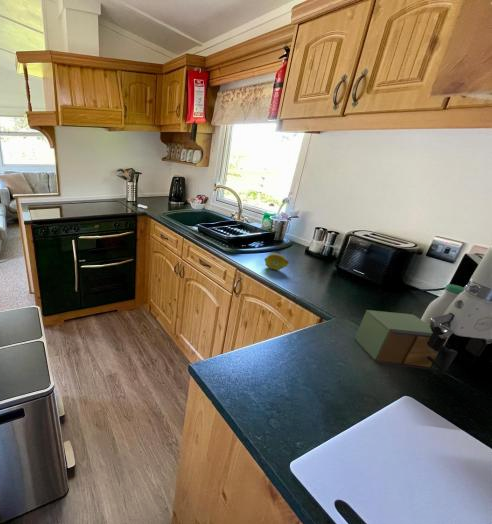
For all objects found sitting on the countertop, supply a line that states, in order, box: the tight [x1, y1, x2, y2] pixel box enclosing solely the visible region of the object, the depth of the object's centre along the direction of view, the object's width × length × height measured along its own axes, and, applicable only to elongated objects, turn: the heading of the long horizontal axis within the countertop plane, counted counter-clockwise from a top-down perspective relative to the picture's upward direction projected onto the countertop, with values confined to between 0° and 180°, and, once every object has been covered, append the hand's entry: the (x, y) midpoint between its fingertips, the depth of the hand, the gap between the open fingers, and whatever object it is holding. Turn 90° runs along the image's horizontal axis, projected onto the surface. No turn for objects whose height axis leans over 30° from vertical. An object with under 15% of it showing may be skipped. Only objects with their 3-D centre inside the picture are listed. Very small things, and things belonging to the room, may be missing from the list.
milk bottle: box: [420, 283, 464, 346], centre depth 92 cm, size 8×8×20 cm
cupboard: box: [354, 309, 447, 370], centre depth 86 cm, size 12×14×11 cm
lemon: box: [264, 253, 290, 271], centre depth 143 cm, size 11×8×8 cm
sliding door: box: [403, 336, 458, 375], centre depth 78 cm, size 6×7×10 cm
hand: (451, 350), depth 74 cm, fingers open, 9 cm apart
